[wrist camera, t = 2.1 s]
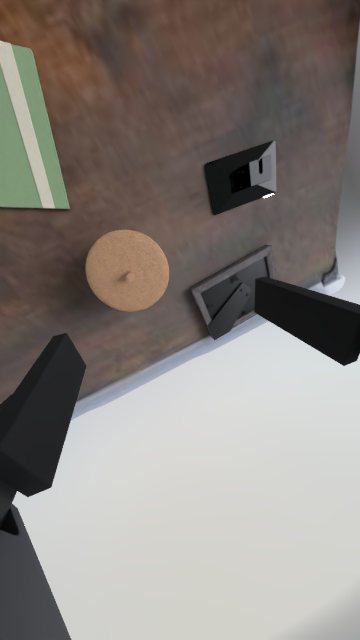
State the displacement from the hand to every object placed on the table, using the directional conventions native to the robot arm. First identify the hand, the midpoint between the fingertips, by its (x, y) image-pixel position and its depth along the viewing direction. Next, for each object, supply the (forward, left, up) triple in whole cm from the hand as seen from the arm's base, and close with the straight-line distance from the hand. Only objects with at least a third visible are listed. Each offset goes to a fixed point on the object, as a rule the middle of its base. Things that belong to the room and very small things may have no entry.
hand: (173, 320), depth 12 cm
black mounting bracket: (+18, +14, -22) cm, 31 cm away
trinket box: (-2, +1, -22) cm, 22 cm away
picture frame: (+20, -6, -22) cm, 30 cm away
